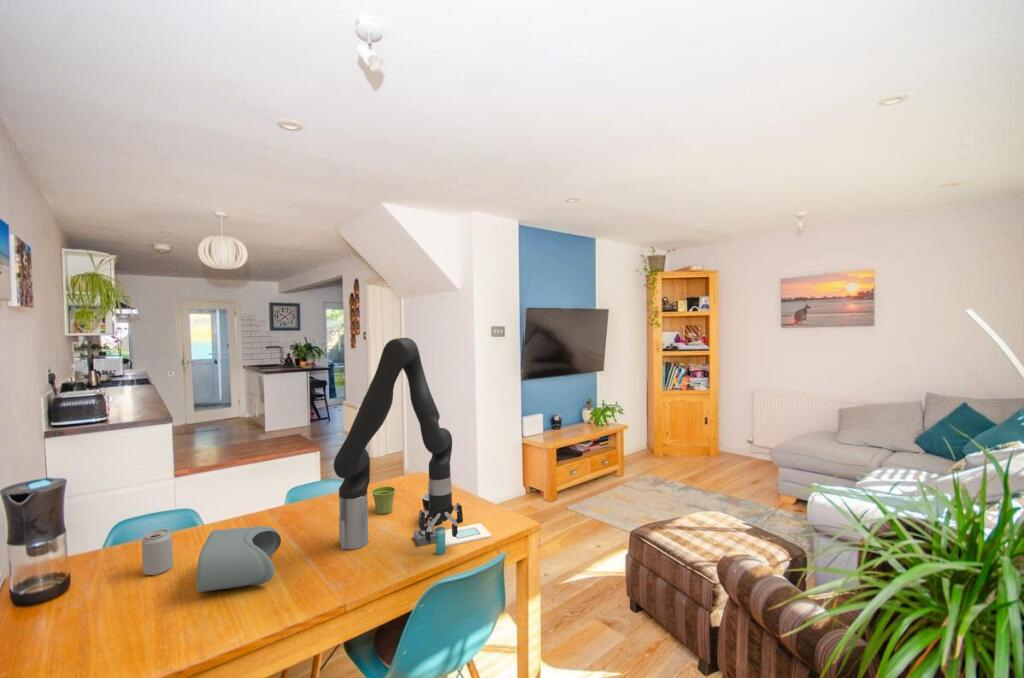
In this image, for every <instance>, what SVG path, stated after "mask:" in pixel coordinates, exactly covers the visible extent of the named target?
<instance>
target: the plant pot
mask: <svg viewBox="0 0 1024 678" xmlns="http://www.w3.org/2000/svg"><path fill="white" fill-rule="evenodd" d="M396 489H397V488H396V487H394V486H387V485H386V486H380V487H376V488H373V489H372V490H371V494H372V497H373V500H374V506H375V512H376V514H378V515H385V514H390V513H392V511H393V503H394V495H395V492H396Z"/></svg>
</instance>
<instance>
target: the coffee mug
mask: <svg viewBox="0 0 1024 678" xmlns="http://www.w3.org/2000/svg"><path fill="white" fill-rule="evenodd" d="M421 500H422V501H421V502H422V507H423V511H428V509H429V492H427V493H425V494H423V495H422V496H421ZM429 518H430V515H429V514H428V515H427V517H426V518H425V525H426V524H427V522H428V519H429ZM443 522H444V521H441V522H438V523H437V522H436V523H435V524H434V526H435V527H436V526H440V525H442V524H443ZM434 526H433V527H434Z"/></svg>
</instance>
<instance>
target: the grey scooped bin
mask: <svg viewBox="0 0 1024 678" xmlns="http://www.w3.org/2000/svg"><path fill="white" fill-rule="evenodd" d="M281 543H282V538H281V534H280V533H279V532H278V531H277V529H275V528H274V527H273V526H268V525H264V526H263V525H262V526H252V527H251V526H249V527H247V526H246V527H236V528H223V529H214V530H212V531H210V534H209V535H208V537H207V538H206V541H205V542H204V544H203V546H202V547H201V550H200V553H199V556H198V561H197V568H196V569H197V570H196V590H197V592H198V593H203V592H209V591H211V592H212V591H218V590H224V589H232V588H240V587H246V586H259V585H264V584H266V583H268V582H269V581H271V580H272V579H273V577H274V574H275V566H274V565H275V564H274V563H273V560H272V559H271V556H272V555H274V553H276V551H278V550H279V548H280V546H281Z"/></svg>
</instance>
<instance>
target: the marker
mask: <svg viewBox="0 0 1024 678" xmlns="http://www.w3.org/2000/svg"><path fill="white" fill-rule="evenodd" d="M434 529H435V535H436V543H435V554H436V555H437V556H443V555H445V554H446V551H447V549H446V544H445V530H446V527H445V526H438V527H436V528H434Z"/></svg>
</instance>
